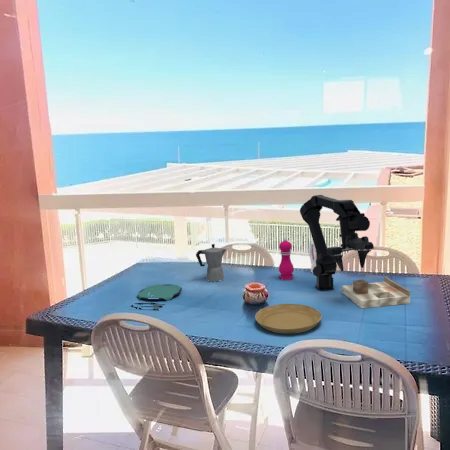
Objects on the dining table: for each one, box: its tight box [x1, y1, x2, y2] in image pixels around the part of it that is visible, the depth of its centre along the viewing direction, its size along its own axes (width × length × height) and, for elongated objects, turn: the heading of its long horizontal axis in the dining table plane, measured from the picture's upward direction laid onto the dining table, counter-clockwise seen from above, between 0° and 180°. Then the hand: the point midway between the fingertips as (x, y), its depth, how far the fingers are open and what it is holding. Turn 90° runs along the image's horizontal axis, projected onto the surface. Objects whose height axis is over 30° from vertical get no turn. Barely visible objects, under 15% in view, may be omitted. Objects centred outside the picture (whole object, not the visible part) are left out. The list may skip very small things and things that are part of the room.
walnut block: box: [352, 279, 369, 294], centre depth 187 cm, size 4×4×4 cm
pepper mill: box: [278, 237, 295, 281], centre depth 221 cm, size 7×7×20 cm
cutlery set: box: [136, 283, 183, 309], centre depth 204 cm, size 20×30×2 cm, turn 164°
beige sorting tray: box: [341, 276, 411, 309], centre depth 188 cm, size 20×20×5 cm
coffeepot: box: [195, 243, 227, 282], centre depth 225 cm, size 15×9×18 cm, turn 103°
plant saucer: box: [254, 303, 323, 335], centre depth 168 cm, size 24×24×3 cm
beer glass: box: [308, 241, 317, 274], centre depth 228 cm, size 7×7×15 cm
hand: (352, 269), depth 185 cm, fingers open, 9 cm apart
